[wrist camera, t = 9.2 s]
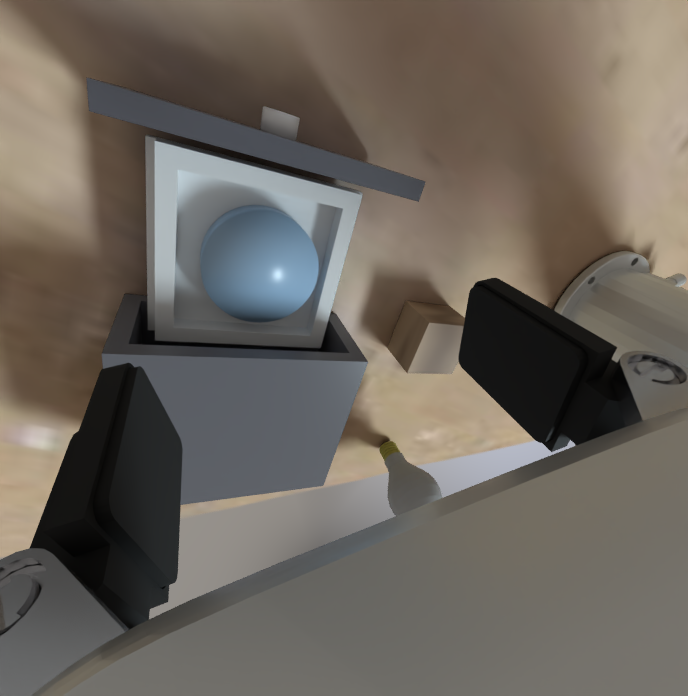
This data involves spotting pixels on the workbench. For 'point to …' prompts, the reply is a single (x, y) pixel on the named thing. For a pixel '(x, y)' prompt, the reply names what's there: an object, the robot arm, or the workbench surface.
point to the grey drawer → (232, 192)
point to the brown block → (427, 338)
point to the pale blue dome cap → (258, 264)
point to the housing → (245, 404)
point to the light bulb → (407, 482)
